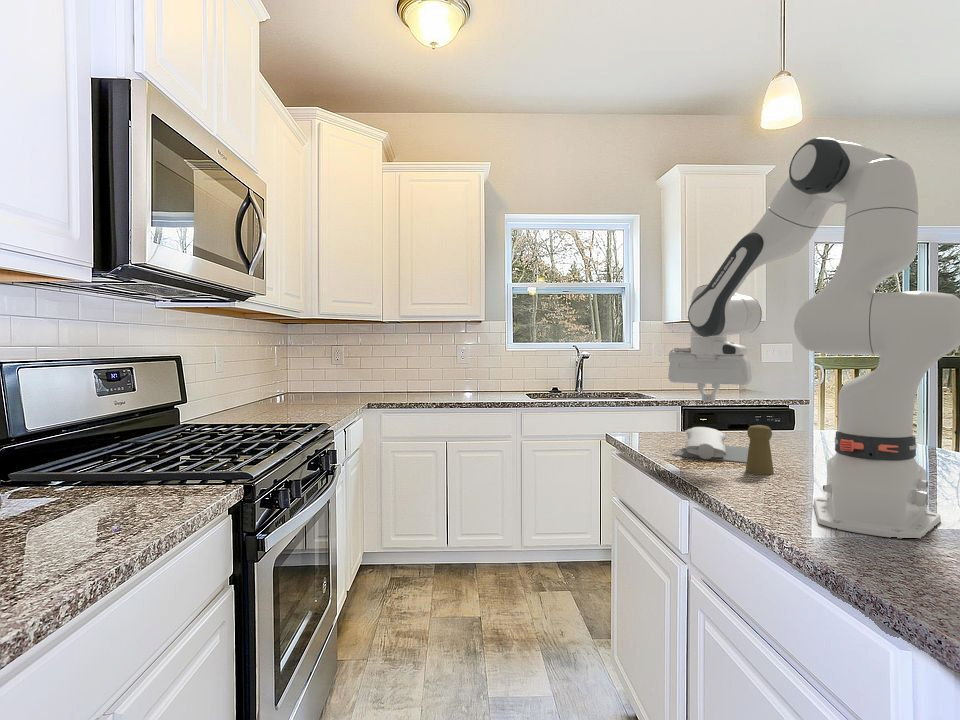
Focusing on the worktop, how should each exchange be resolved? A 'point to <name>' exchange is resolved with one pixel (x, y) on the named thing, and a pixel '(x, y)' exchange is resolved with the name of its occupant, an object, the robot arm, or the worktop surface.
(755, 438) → the cork
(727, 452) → the mat
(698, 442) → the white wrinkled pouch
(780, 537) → the worktop surface
